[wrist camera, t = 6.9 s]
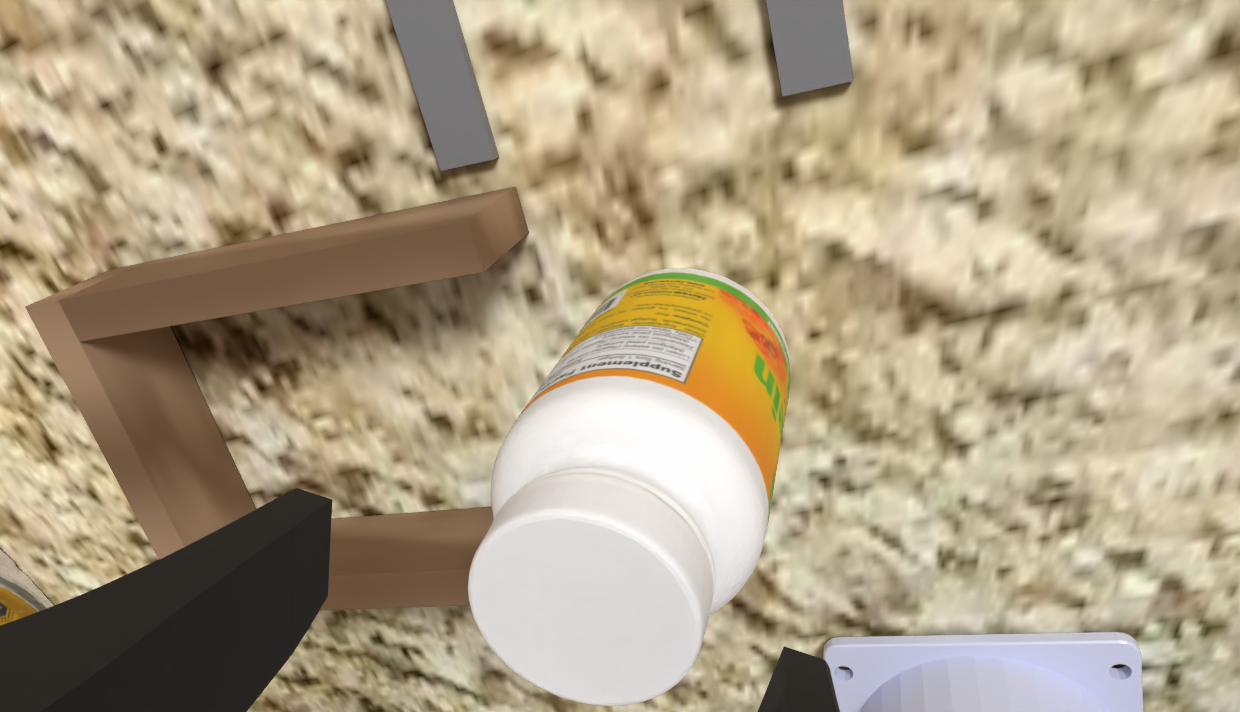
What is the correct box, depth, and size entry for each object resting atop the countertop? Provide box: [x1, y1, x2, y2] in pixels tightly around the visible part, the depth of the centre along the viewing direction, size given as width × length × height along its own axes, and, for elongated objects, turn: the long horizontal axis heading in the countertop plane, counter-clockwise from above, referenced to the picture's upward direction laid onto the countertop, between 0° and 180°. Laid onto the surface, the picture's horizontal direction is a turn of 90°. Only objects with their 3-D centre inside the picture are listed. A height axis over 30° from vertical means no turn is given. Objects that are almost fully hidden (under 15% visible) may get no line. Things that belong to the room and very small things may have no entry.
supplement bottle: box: [468, 268, 791, 706], centre depth 18 cm, size 5×5×10 cm
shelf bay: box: [26, 187, 529, 610], centre depth 24 cm, size 10×13×3 cm
